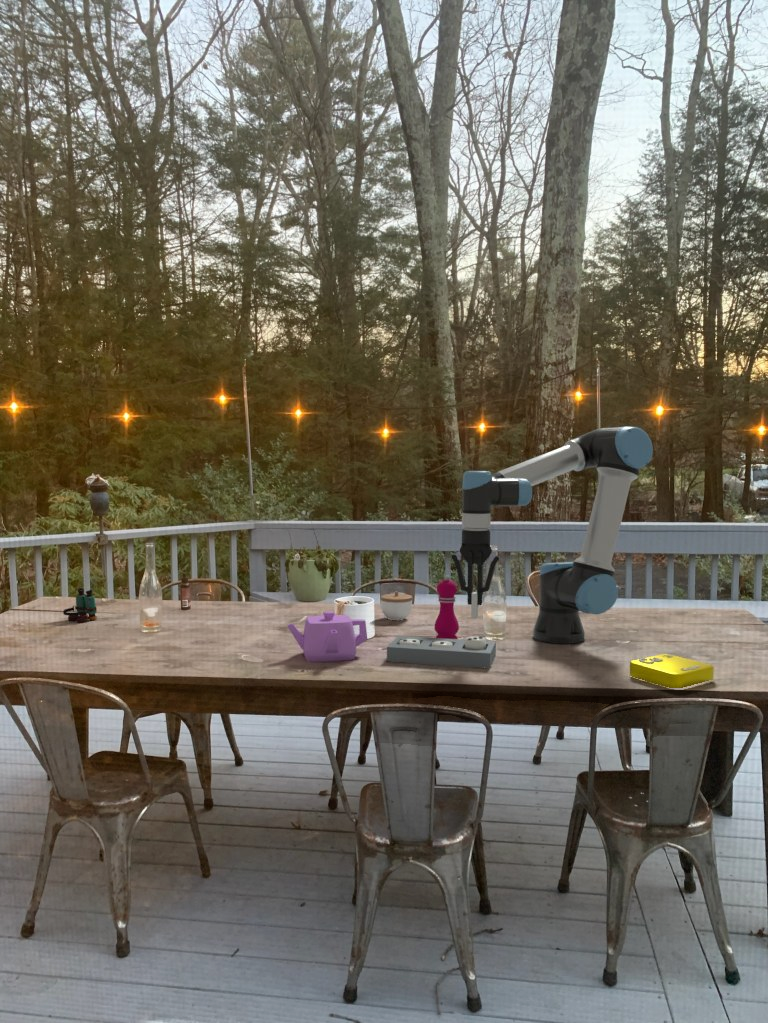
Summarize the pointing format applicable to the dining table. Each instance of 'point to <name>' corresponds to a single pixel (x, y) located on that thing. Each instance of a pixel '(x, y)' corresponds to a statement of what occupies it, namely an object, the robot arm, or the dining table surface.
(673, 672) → the element tile
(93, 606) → the binoculars
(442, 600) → the pepper mill
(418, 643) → the button two dots
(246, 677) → the dining table surface
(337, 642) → the teakettle
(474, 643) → the button three dots
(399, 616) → the lidded jar
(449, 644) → the button one dot
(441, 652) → the console
